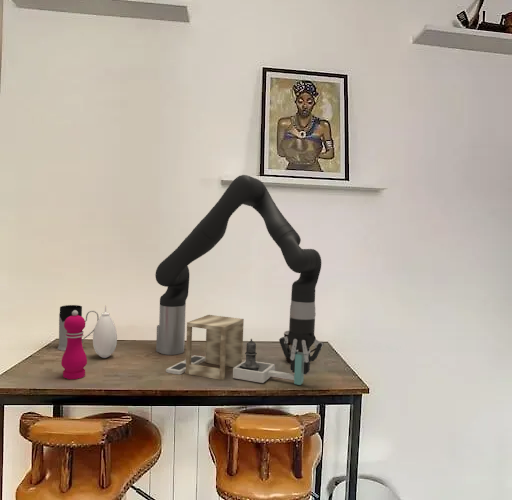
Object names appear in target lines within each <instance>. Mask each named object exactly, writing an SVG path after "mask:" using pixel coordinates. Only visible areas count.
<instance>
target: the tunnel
mask: <svg viewBox="0 0 512 500" xmlns="http://www.w3.org/2000/svg"><path fill="white" fill-rule="evenodd" d="M244 322H245V320H244V318H239V317H238V318H237V317H231V316H230V317H229V316H223V315H213V314H207V315H204V316H202V317H201V316H200V317H198V318H195V319H193V320H190V321H187V322H186V344H185V345H186V346H185V347H186V349H185V360H186V372H185V374H187V375H192V376H197V377H203V378H209V379H215V380H220V381H224V380H225V379H226V367H229V368H234V367H236V366H237V365H239V364H240V363H242V362H243V346H244V345H243V344H244V343H243V342H244ZM193 328H195V329H196V328H197V329H206V333H205V334H206V335H205V357H206V358H205V361H204V362H205V364H210V365H212V364H213V365H217V366H219V368H218V367H214V366H213V367H212V366H209V365H208V366H206V365H201V364H199V365H196V364H191V357H192V347H193V345H192V344H193V343H192V340H193V339H192V338H193Z"/></svg>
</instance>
